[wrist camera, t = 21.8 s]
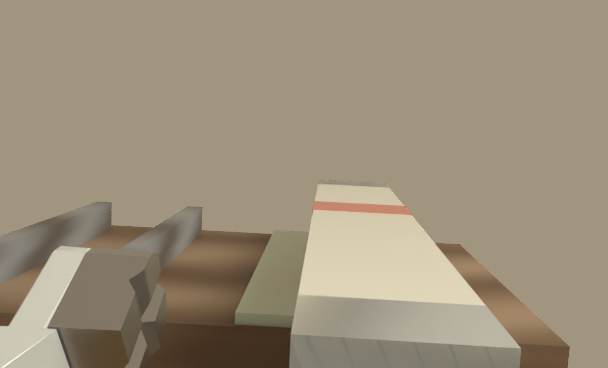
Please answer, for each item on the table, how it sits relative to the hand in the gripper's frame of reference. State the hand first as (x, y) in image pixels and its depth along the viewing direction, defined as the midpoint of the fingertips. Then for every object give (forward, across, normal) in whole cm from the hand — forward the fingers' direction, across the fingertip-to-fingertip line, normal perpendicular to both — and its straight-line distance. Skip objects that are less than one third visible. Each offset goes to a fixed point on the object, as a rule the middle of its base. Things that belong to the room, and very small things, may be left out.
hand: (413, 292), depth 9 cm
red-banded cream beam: (+7, 0, +8) cm, 11 cm away
